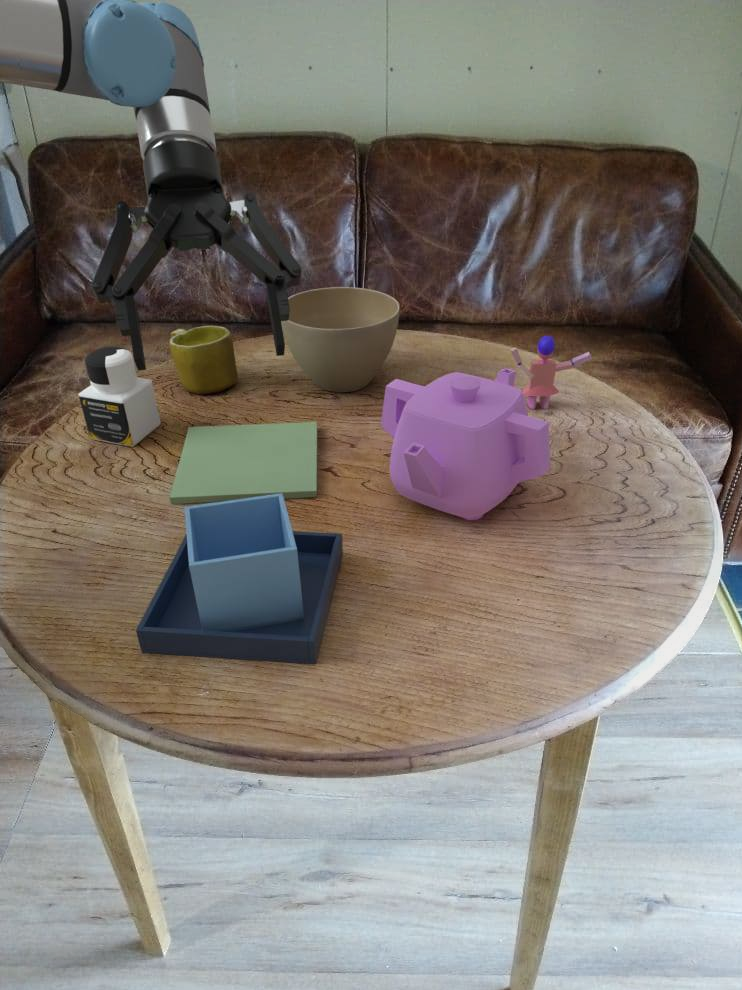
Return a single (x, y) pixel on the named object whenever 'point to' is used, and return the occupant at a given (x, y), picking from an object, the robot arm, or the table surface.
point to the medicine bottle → (117, 399)
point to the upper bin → (243, 563)
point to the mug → (204, 358)
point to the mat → (247, 462)
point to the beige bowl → (341, 334)
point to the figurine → (544, 372)
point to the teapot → (463, 441)
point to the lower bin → (180, 632)
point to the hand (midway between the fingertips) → (211, 358)
